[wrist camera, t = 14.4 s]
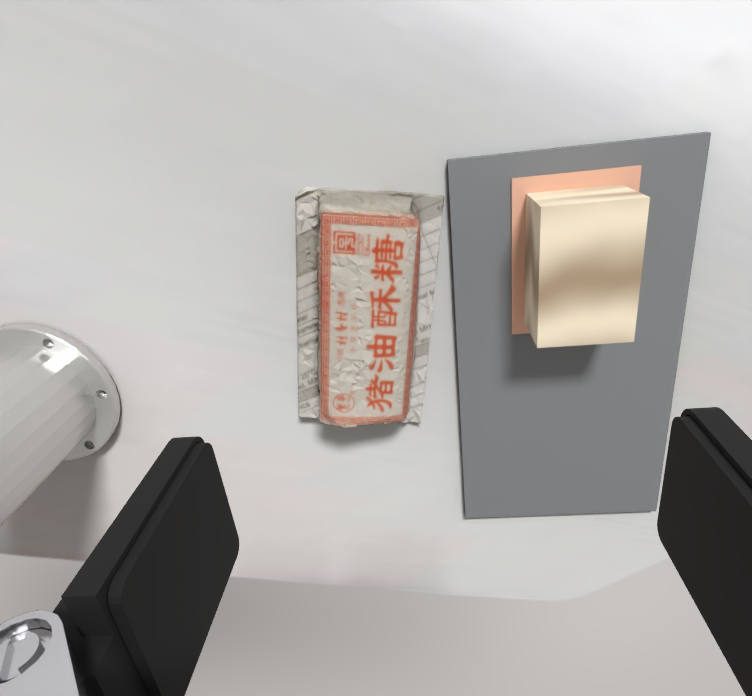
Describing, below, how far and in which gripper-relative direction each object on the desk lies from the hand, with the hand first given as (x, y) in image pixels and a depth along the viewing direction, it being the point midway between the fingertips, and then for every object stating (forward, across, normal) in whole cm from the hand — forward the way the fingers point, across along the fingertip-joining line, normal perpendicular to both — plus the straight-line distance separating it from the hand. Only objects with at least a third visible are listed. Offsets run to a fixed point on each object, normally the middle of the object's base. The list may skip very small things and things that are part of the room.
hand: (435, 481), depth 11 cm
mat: (+28, -10, +12) cm, 32 cm away
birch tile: (+28, -10, +4) cm, 30 cm away
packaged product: (+29, +5, +7) cm, 30 cm away
